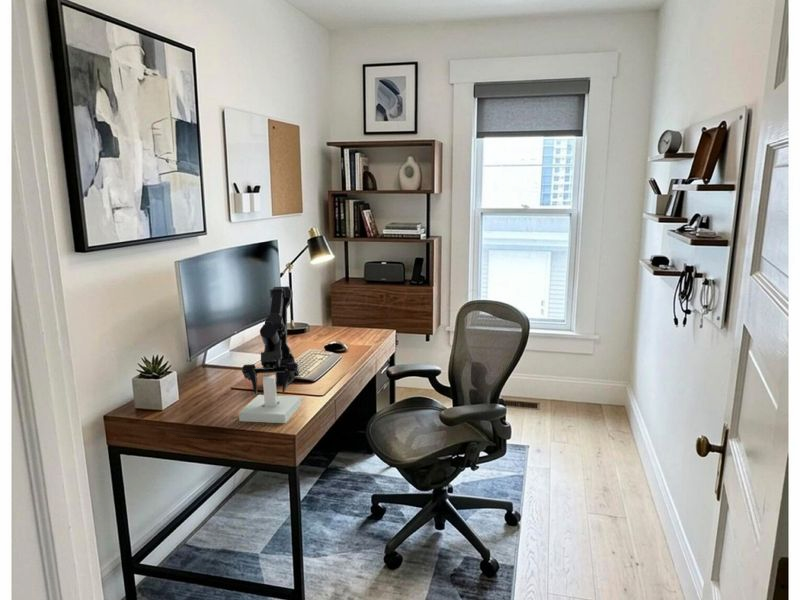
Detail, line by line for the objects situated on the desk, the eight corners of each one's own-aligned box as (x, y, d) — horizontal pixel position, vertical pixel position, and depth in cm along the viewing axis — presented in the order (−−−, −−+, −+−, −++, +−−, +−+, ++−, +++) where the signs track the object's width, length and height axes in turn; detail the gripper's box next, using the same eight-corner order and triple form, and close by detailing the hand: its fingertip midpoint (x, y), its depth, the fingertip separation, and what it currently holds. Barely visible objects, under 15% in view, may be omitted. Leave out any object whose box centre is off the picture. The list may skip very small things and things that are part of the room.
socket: (259, 402, 192) (258, 394, 192) (301, 404, 190) (301, 396, 189) (239, 421, 177) (238, 412, 176) (285, 423, 174) (284, 414, 174)
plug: (267, 410, 185) (264, 375, 182) (277, 410, 185) (275, 374, 183) (265, 414, 181) (262, 378, 179) (276, 414, 182) (273, 378, 179)
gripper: (240, 342, 182) (236, 384, 173) (296, 340, 183) (294, 381, 174) (247, 357, 191) (243, 398, 182) (299, 355, 192) (298, 395, 184)
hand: (269, 393), depth 180 cm, fingers open, 9 cm apart
